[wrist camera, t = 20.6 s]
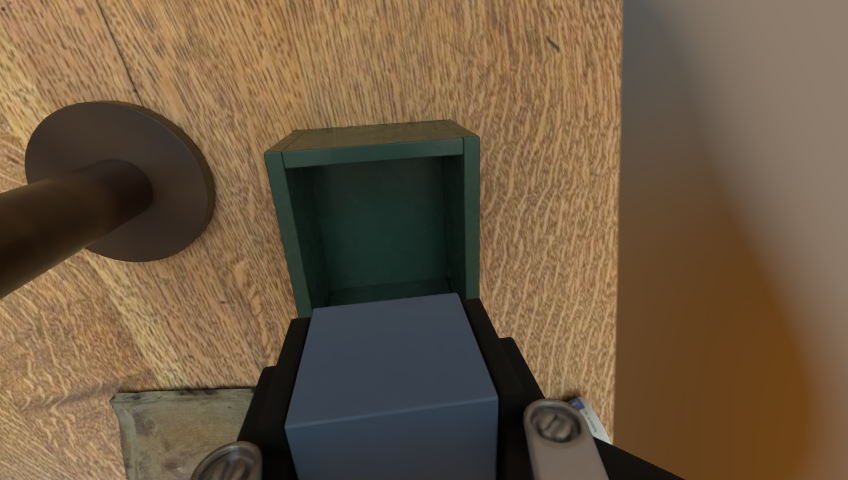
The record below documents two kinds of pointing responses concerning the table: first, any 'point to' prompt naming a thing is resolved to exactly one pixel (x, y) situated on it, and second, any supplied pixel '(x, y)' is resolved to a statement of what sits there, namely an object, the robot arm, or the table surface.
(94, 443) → the table surface
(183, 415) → the parchment
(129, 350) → the table surface
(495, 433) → the block
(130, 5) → the table surface
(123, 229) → the post
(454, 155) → the green box
